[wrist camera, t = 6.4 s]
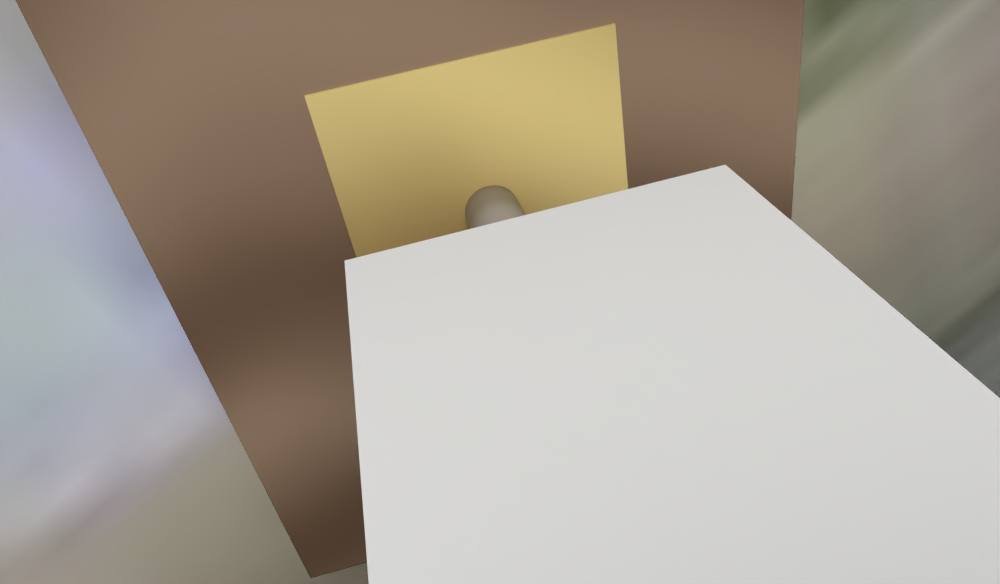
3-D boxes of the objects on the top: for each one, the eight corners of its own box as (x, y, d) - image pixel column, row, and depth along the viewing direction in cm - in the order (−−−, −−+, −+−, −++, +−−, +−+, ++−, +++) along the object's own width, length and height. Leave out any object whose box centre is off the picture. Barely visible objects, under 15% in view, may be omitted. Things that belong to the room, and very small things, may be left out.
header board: (749, 406, 20) (860, 558, 16) (310, 529, 19) (310, 724, 15) (768, -209, 12) (993, -219, 8) (30, -54, 11) (-129, 22, 7)
